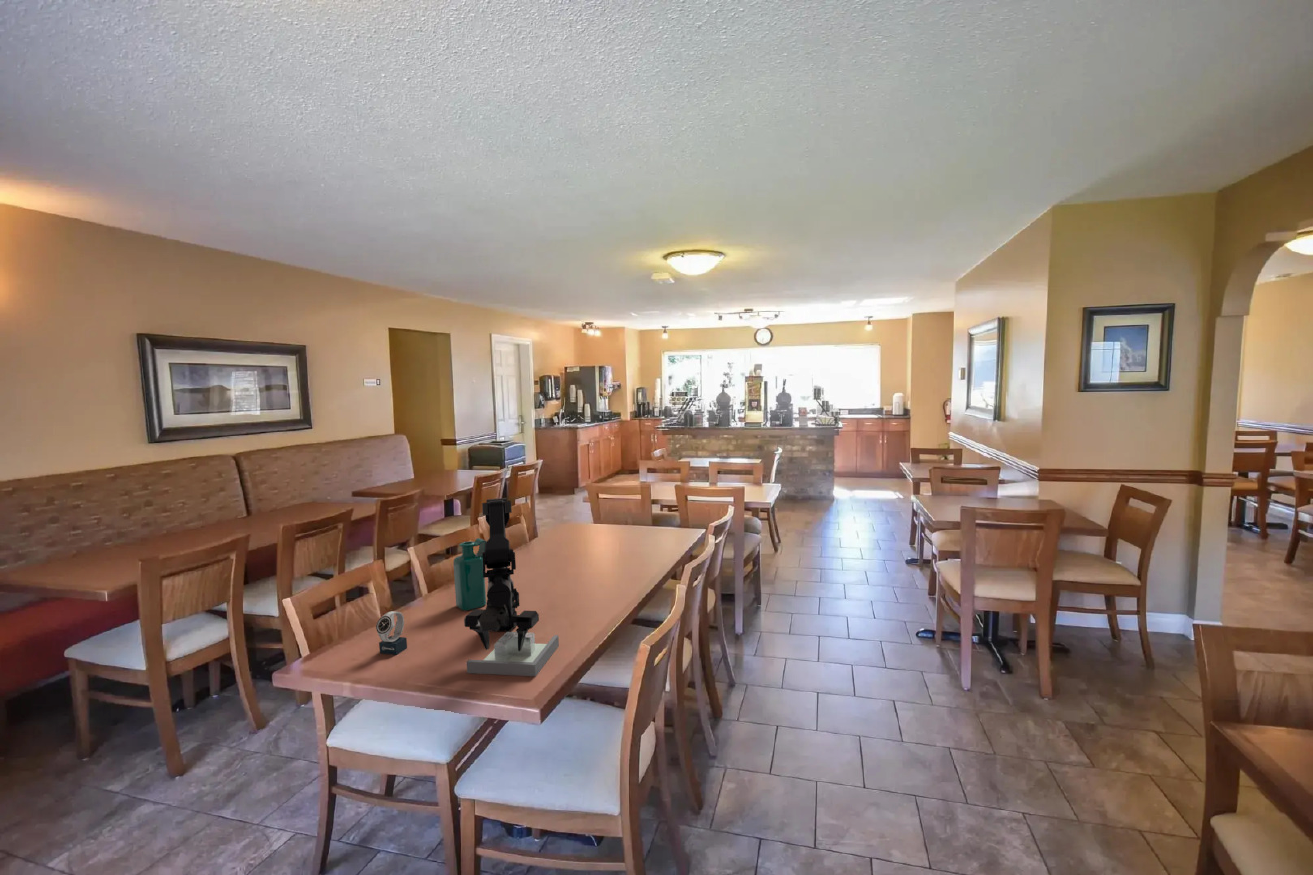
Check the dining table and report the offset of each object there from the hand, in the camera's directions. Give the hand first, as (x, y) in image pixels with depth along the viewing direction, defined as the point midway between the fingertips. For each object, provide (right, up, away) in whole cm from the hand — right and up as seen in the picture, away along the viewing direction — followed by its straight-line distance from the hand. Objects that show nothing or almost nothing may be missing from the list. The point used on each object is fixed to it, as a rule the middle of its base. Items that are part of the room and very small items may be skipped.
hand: (503, 649), depth 150 cm
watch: (-33, -4, +9) cm, 35 cm away
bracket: (+3, -2, +2) cm, 4 cm away
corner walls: (+3, -3, +2) cm, 4 cm away
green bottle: (-22, -1, +42) cm, 48 cm away
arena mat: (+3, -3, +2) cm, 4 cm away
